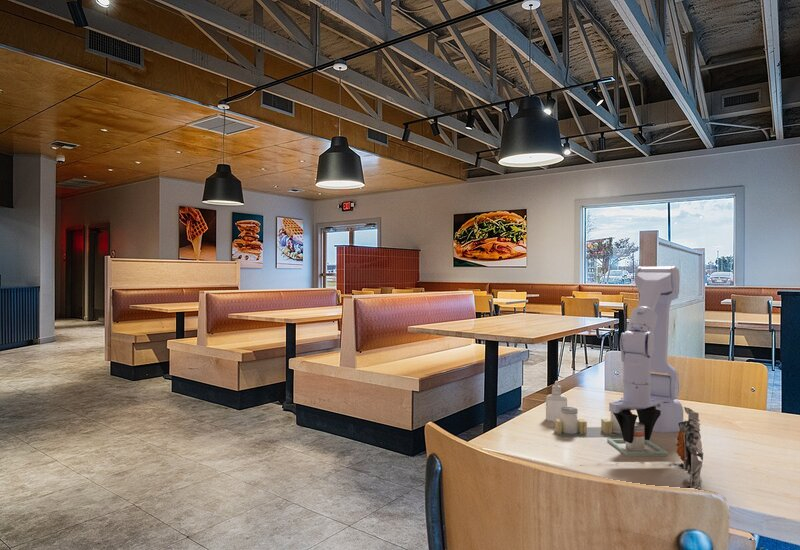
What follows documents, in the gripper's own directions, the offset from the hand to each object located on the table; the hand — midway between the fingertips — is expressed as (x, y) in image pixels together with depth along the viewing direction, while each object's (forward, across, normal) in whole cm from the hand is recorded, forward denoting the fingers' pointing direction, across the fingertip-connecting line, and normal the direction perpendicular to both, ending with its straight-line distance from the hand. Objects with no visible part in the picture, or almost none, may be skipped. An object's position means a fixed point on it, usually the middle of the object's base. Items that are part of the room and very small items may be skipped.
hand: (636, 440), depth 116 cm
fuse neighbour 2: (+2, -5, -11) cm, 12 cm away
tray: (+3, 0, 0) cm, 3 cm away
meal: (+3, +2, +15) cm, 16 cm away
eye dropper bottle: (+3, +3, -25) cm, 26 cm away
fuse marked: (+2, 0, 0) cm, 2 cm away
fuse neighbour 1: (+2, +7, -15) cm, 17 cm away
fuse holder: (+3, +1, -13) cm, 13 cm away
